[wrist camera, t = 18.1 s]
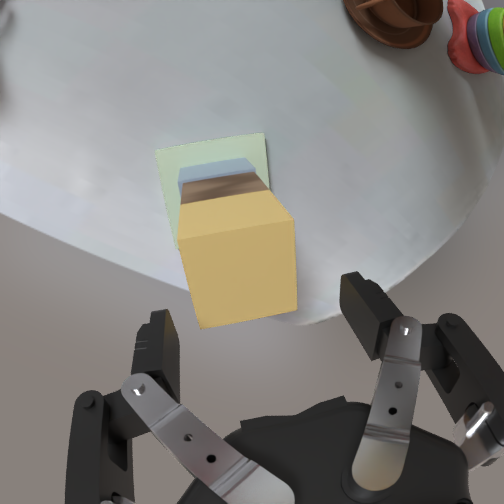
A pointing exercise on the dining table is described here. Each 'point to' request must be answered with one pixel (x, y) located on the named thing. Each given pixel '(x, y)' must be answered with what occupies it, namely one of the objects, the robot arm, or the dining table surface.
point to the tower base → (205, 155)
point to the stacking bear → (476, 38)
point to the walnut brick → (221, 187)
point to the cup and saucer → (396, 20)
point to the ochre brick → (238, 257)
